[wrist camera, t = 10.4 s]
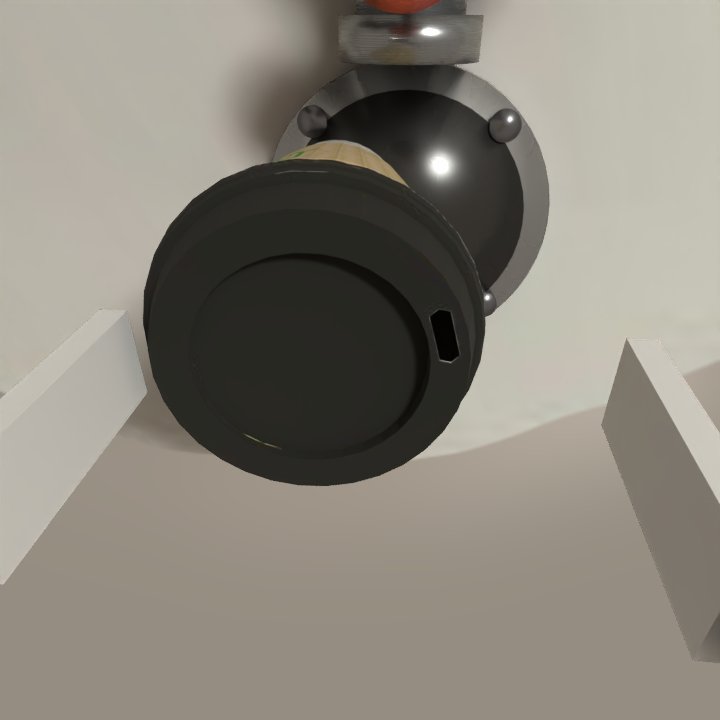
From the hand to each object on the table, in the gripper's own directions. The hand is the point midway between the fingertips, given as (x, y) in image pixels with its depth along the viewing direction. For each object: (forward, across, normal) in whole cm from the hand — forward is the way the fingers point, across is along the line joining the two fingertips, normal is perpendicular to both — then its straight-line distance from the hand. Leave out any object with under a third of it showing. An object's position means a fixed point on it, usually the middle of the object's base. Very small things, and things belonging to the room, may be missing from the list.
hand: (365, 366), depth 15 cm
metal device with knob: (+17, 0, +2) cm, 17 cm away
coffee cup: (+15, -3, 0) cm, 15 cm away
